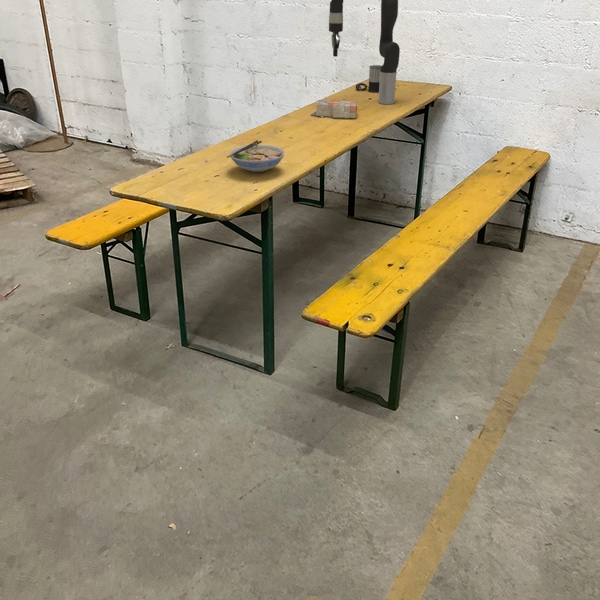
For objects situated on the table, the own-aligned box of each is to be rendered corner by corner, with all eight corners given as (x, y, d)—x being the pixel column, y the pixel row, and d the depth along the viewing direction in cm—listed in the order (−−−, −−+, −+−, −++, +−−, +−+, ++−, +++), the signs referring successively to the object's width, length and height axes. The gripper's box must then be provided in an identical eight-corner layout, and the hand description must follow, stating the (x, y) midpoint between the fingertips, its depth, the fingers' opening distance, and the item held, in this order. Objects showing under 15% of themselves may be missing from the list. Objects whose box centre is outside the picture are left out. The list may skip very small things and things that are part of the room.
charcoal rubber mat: (316, 112, 343) (316, 111, 342) (352, 115, 335) (352, 114, 335) (310, 115, 335) (310, 114, 335) (347, 119, 328) (347, 118, 328)
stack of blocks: (317, 111, 341) (315, 117, 330) (318, 100, 338) (315, 105, 327) (357, 112, 339) (355, 118, 328) (357, 101, 335) (356, 106, 325)
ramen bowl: (265, 183, 243) (264, 162, 239) (217, 174, 253) (216, 154, 249) (296, 165, 262) (296, 146, 258) (251, 157, 272) (250, 139, 268)
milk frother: (384, 92, 386) (386, 67, 378) (360, 93, 383) (361, 68, 376) (377, 87, 398) (378, 63, 390) (353, 89, 395) (354, 64, 388)
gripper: (345, 23, 326) (344, 58, 335) (340, 20, 338) (339, 54, 346) (331, 23, 325) (330, 58, 334) (327, 20, 337) (326, 54, 346)
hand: (335, 56), depth 340 cm, fingers closed
